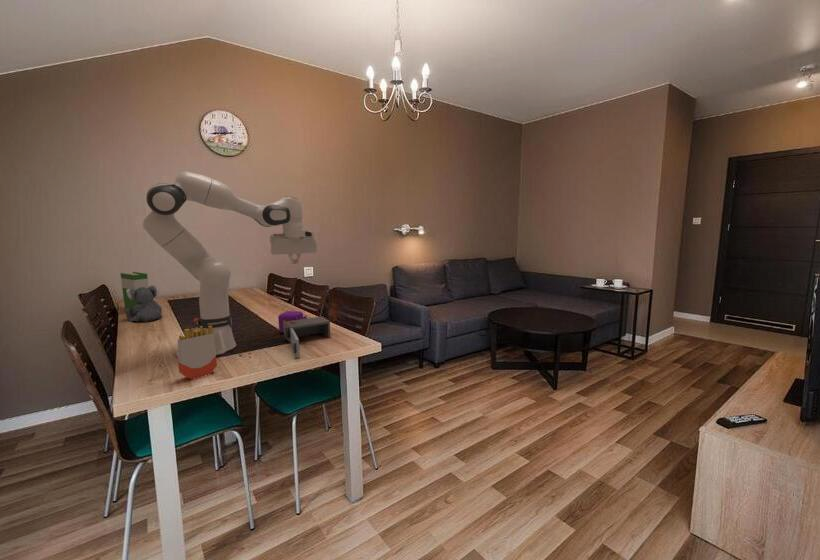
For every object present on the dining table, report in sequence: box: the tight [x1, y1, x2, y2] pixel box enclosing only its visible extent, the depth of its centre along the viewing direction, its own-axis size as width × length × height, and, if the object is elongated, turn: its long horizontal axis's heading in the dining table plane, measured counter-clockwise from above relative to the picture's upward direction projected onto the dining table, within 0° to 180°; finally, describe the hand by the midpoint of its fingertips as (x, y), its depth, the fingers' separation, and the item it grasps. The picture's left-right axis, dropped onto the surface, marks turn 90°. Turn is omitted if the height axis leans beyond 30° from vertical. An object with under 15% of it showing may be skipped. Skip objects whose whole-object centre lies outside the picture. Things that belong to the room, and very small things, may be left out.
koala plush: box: [124, 284, 163, 323], centre depth 208 cm, size 17×18×20 cm
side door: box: [290, 328, 301, 359], centre depth 154 cm, size 18×2×8 cm, turn 25°
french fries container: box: [177, 326, 218, 380], centre depth 129 cm, size 5×11×18 cm, turn 140°
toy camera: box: [277, 309, 308, 334], centre depth 184 cm, size 11×14×10 cm
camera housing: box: [283, 316, 332, 344], centre depth 172 cm, size 19×11×9 cm, turn 123°
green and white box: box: [120, 271, 150, 311], centre depth 227 cm, size 18×7×24 cm, turn 57°
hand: (295, 263), depth 169 cm, fingers closed
